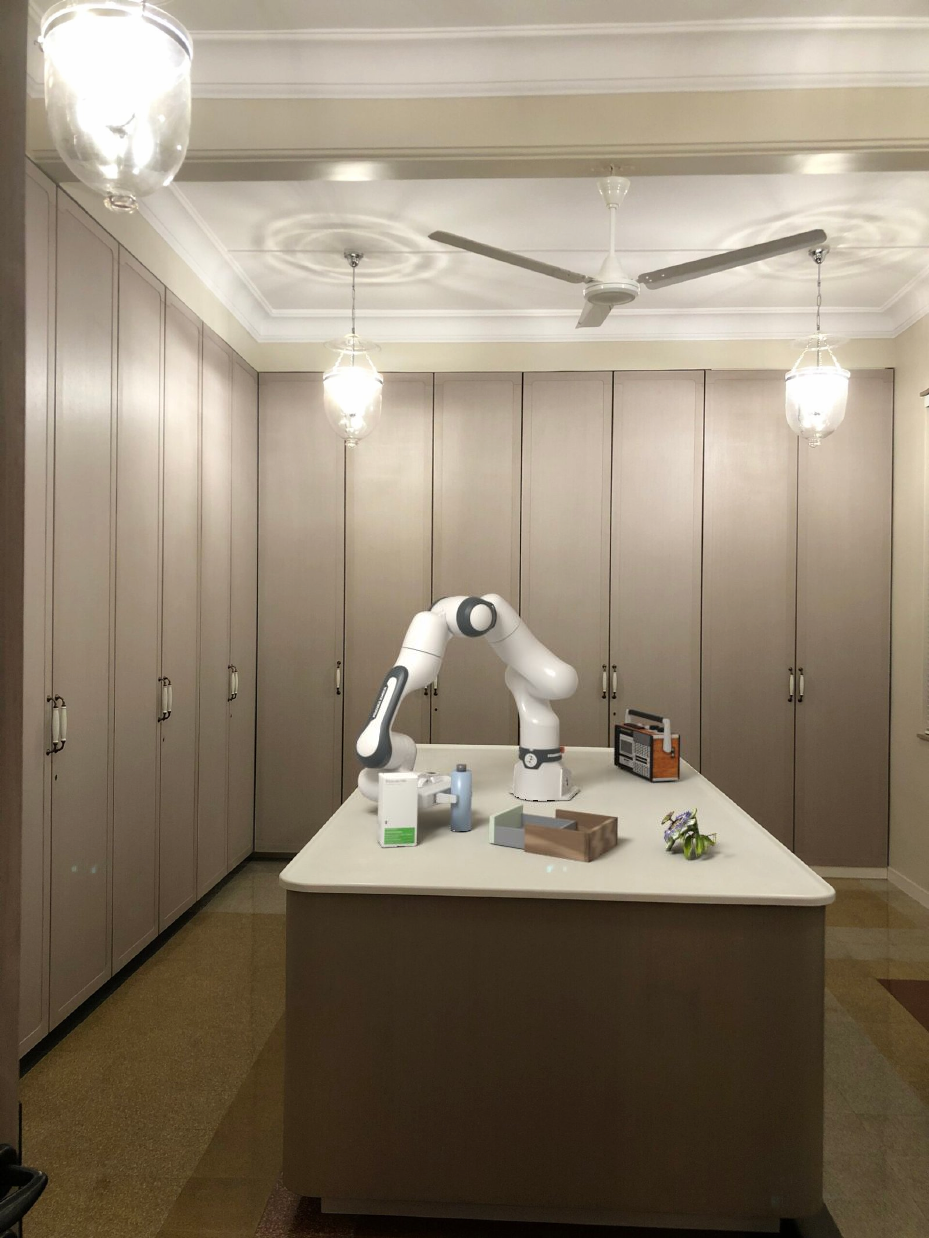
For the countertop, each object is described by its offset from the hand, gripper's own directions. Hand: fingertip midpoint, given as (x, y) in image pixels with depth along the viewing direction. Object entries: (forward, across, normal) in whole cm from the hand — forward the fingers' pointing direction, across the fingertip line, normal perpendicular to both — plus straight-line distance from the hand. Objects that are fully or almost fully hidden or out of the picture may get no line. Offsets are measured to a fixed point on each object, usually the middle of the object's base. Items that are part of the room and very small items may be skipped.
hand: (464, 796), depth 206 cm
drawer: (+19, 0, +8) cm, 21 cm away
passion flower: (+51, +10, +8) cm, 53 cm away
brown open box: (+27, 0, +8) cm, 28 cm away
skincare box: (-7, -18, +8) cm, 21 cm away
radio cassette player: (+14, +92, +8) cm, 94 cm away
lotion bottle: (-1, 0, +8) cm, 8 cm away
